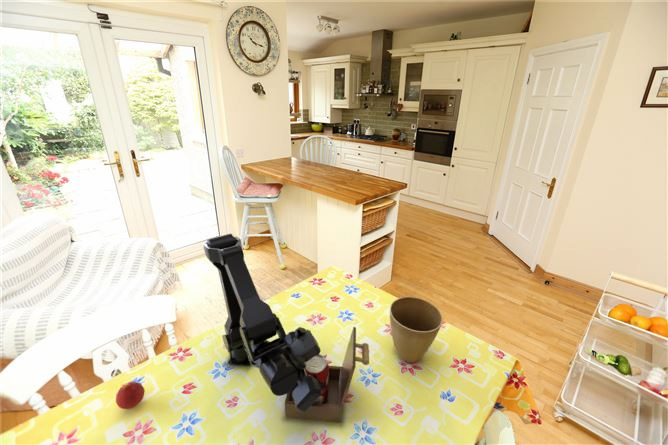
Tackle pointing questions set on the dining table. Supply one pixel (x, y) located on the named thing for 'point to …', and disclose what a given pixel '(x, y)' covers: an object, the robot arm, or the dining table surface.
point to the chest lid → (351, 363)
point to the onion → (130, 395)
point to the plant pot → (413, 326)
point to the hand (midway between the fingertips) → (320, 376)
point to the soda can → (319, 374)
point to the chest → (318, 411)
